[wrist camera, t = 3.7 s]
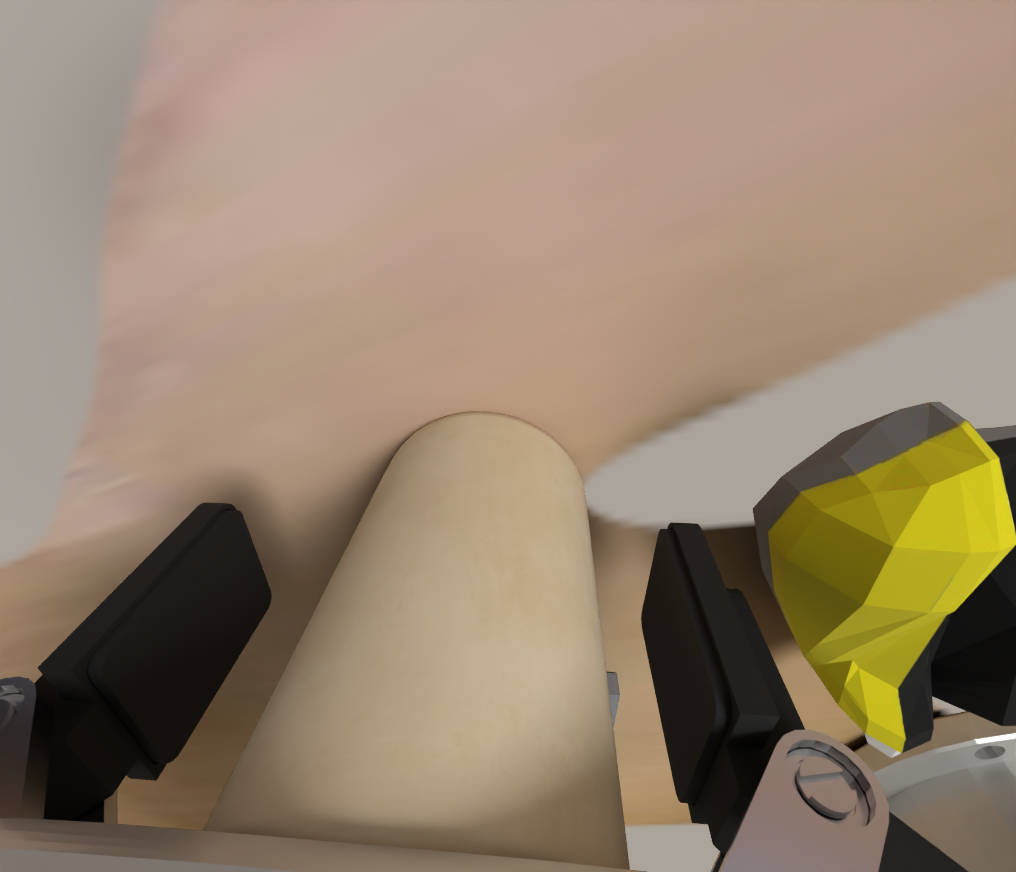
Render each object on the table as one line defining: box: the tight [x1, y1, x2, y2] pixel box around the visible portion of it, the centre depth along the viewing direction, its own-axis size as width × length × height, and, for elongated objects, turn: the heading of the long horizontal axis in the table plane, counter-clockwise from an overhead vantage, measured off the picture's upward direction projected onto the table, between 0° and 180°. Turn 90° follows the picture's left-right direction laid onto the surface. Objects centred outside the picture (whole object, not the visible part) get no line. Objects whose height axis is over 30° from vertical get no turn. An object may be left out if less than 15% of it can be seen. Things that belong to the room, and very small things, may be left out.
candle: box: [203, 412, 630, 870], centre depth 9 cm, size 6×6×10 cm
